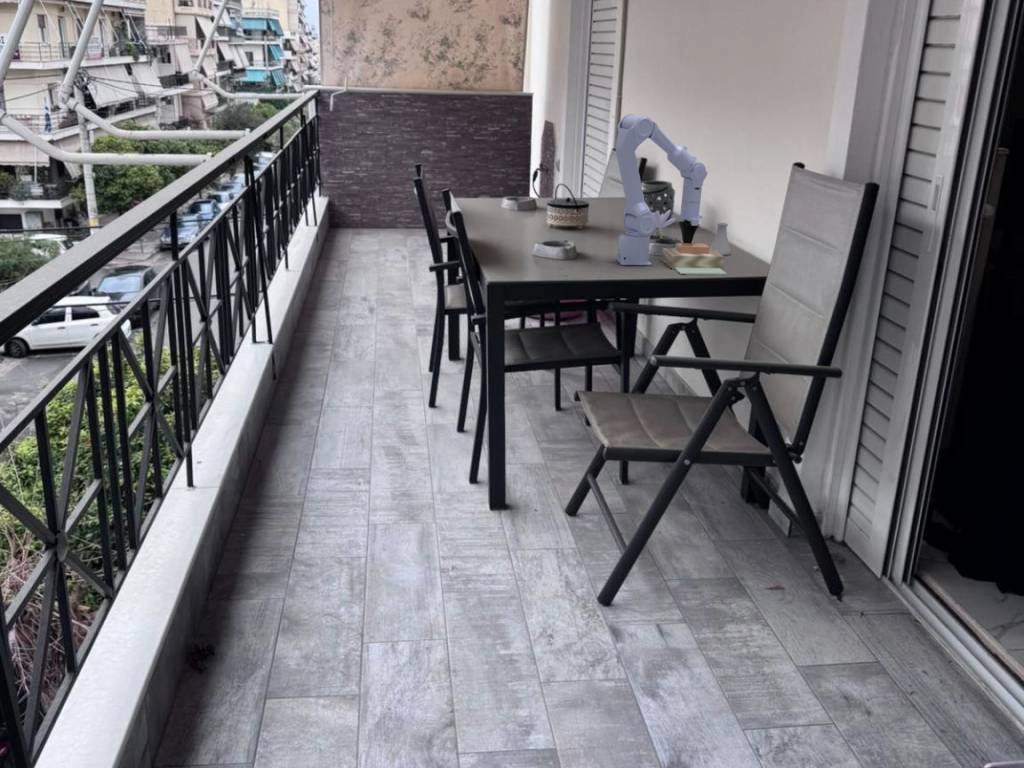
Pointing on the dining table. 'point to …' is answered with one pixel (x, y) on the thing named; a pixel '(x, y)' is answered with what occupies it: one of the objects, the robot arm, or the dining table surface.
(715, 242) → the flask
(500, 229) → the dining table surface
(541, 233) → the dining table surface
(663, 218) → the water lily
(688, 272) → the mat
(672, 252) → the plate
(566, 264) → the dining table surface
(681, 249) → the tile
